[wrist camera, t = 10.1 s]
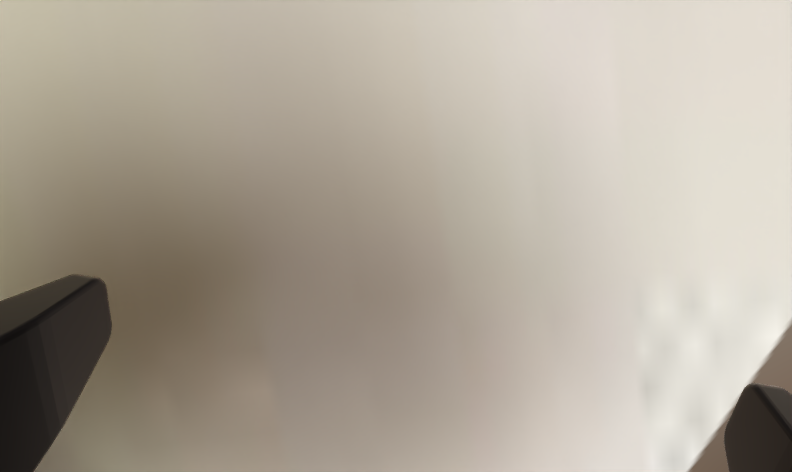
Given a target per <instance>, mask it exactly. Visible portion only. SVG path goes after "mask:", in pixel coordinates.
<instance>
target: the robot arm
mask: <svg viewBox="0 0 792 472" xmlns="http://www.w3.org/2000/svg"><path fill="white" fill-rule="evenodd" d="M111 328H112V323H111V316H110V309H109V302H108V295H107V289H106V285H105V283H104V281H103V280H101V279H100V278H97V277H91V276H85V275H78V274H73V275H69V276H67V277H64V278H61V279H59V280H56V281H53V282H51V283H48V284H45V285H43V286H40V287H37V288H35V289H32V290H29V291H26V292H24V293H21V294H18V295H16V296H13V297H10V298H8V299H5V300H2V301H0V472H34V470H35V469H36V467H37V466H38V464H39V463H40V461H41V460H42V458H43V457H44V455H45V454H46V452H47V451H48V449H49V448H50V446H51V445H52V443H53V442H54V440H55V439H56V437H57V436H58V434H59V432H60V431H61V429H62V427H63V426H64V424H65V422H66V420H67V419H68V417H69V415H70V413H71V411H72V409H73V408H74V406H75V404H76V402H77V400H78V398H79V396H80V394H81V392H82V390H83V388H84V387H85V385H86V383H87V381H88V379H89V377H90V375H91V373H92V371H93V369H94V368H95V366H96V364H97V362H98V360H99V358H100V356H101V354H102V352H103V350H104V348H105V347H106V345H107V343H108V341H109V338H110V335H111ZM724 444H725V451H726V456H727V463H728V468H729V472H792V394H790V393H789V392H788V391H786V390H785V389H783V388H781V387H777V386H770V385H764V384H758V383H752V384H749V385H747V386H746V387H745V388H744V390H743V391H742V393H741V396H740V398H739V400H738V402H737V404H736V406H735V408H734V410H733V413H732V415H731V417H730V419H729V421H728V423H727V426H726V429H725V435H724Z"/></svg>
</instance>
